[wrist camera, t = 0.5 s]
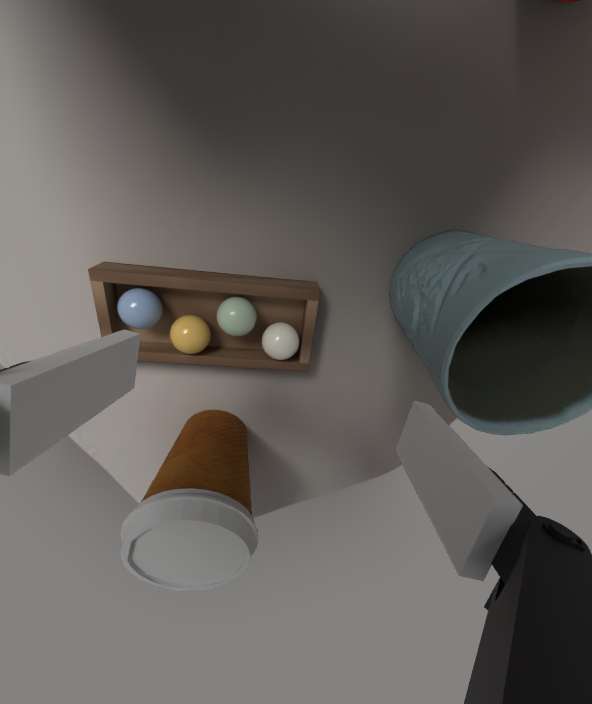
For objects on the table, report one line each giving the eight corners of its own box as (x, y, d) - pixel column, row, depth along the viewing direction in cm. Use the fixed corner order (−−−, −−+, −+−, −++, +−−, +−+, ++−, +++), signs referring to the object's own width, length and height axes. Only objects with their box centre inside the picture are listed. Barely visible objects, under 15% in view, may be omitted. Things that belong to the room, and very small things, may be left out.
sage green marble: (219, 289, 24) (213, 303, 22) (258, 293, 25) (256, 306, 22) (219, 325, 26) (213, 341, 23) (256, 328, 26) (254, 344, 24)
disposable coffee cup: (213, 378, 29) (178, 493, 18) (281, 435, 33) (285, 557, 22) (146, 431, 31) (81, 559, 21) (217, 479, 35) (192, 607, 25)
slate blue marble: (124, 281, 24) (106, 293, 21) (166, 284, 24) (153, 297, 21) (130, 318, 25) (113, 334, 22) (169, 321, 25) (157, 337, 23)
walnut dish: (103, 261, 23) (88, 269, 21) (316, 282, 25) (320, 290, 23) (117, 345, 27) (105, 358, 25) (305, 358, 28) (307, 371, 26)
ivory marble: (263, 315, 26) (262, 330, 23) (300, 318, 26) (303, 333, 23) (261, 347, 27) (260, 365, 24) (296, 350, 27) (298, 368, 25)
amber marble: (174, 307, 25) (162, 322, 22) (213, 310, 25) (206, 326, 23) (177, 341, 26) (166, 359, 24) (213, 344, 27) (207, 362, 24)
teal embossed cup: (522, 281, 26) (690, 350, 16) (425, 362, 29) (509, 464, 19) (453, 189, 22) (611, 199, 12) (350, 294, 26) (404, 373, 15)
